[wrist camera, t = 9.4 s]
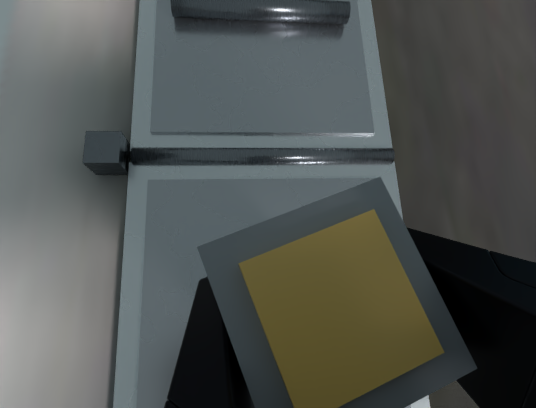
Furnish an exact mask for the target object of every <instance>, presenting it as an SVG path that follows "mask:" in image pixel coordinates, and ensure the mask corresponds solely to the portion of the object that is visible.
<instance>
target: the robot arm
mask: <svg viewBox="0 0 536 408" xmlns="http://www.w3.org/2000/svg"><path fill="white" fill-rule="evenodd" d="M406 228H407V227H406ZM407 230H408V232H409V234H410V236H411V238H412V240H413V242H414V244H415V246H416V248H417V250H418V252H419V254H420V256H421V258H422V260H423V262H424V264H425V265H426V267H427V269H428V271H429V273H430V275H431V277H432V279H433V281H434V283H435V285H436V287H437V289H438V291H439V293H440V295H441V297H442V299H443V301H444V303H445V305H446V307H447V309H448V311H449V313H450V315H451V317H452V319H453V321H454V323H455V325H456V327H457V329H458V331H459V333H460V335H461V337H462V339H463V341H464V343H465V345H466V347H467V348H468V350H469V352H470V354H471V356H472V358H473V360H474V362H475V364H476V366H477V369H476V370H474V371H472V372H470V373H468V374H466V375H464V376H463V377H461V378H459V379H457V380H456V381H457V382H458V383H459V384H460V385H461V387H462V388H463V389H464V390H465V391H466V393H467V394H468V395H469V396H470V397H471V398H472V400H473V401H474V402H475V403H476V404H477V405H478V407H479V408H536V263H535V262H531V261H527V260H523V259H519V258H516V257H512V256H508V255H504V254H501V253H497V252H493V251H490V252H489V251H488V250H486V249H482V248H479V247H475V246H471V245H468V244H464V243H461V242H457V241H453V240H450V239H446V238H443V237H439V236H435V235H432V234H428V233H425V232H421V231H417V230H414V229H410V228H407ZM164 408H255V406H254V404H253V401H252V398H251V395H250V393H249V390H248V387H247V384H246V381H245V379H244V376H243V373H242V370H241V368H240V365H239V362H238V359H237V357H236V354H235V351H234V348H233V346H232V343H231V340H230V337H229V335H228V332H227V329H226V326H225V323H224V321H223V318H222V315H221V312H220V310H219V307H218V304H217V301H216V299H215V296H214V293H213V290H212V288H211V285H210V282H209V279H208V277H205V278H202V279H200V280H199V282H198V286H197V289H196V293H195V297H194V300H193V304H192V308H191V311H190V315H189V318H188V322H187V326H186V329H185V333H184V337H183V340H182V344H181V348H180V351H179V355H178V358H177V362H176V366H175V369H174V373H173V377H172V380H171V384H170V388H169V391H168V395H167V401H166V402H165V405H164Z"/></svg>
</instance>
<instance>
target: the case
mask: <svg viewBox="0 0 536 408" xmlns="http://www.w3.org/2000/svg"><path fill="white" fill-rule="evenodd" d="M130 152H131V162H130ZM393 161H394V150H393V149H392V142H391V135H390V128H389V121H388V114H387V108H386V101H385V94H384V87H383V80H382V73H381V66H380V59H379V53H378V46H377V39H376V32H375V25H374V18H373V11H372V4H371V0H140V4H139V19H138V34H137V49H136V65H135V80H134V95H133V111H132V126H131V141H130V144H129V142H128V141H127V139H126V138H125V136H124V135H123V133H122V132H121V131H86V135H85V145H84V155H83V163H84V164H85V165H86V166H87V167H88V168H89V169H90V170H91V171H93V172H94V173H95V174H96V175H107V174H128V187H127V202H126V218H125V233H124V248H123V263H122V279H121V294H120V309H119V325H118V340H117V355H116V371H115V386H114V401H113V408H164V405H165V402H166V401H167V395H168V391H169V388H170V384H171V380H172V377H173V373H174V369H175V366H176V362H177V358H178V355H179V351H180V348H181V344H182V340H183V337H184V333H185V329H186V326H187V322H188V318H189V315H190V311H191V308H192V304H193V300H194V297H195V293H196V289H197V286H198V282H199V280H200V279H202V278H205V277H207V274H206V271H205V268H204V265H203V263H202V260H201V257H200V254H199V252H198V249H197V247H198V246H200V245H203V244H206V243H208V242H211V241H214V240H216V239H219V238H221V237H224V236H227V235H229V234H232V233H234V232H237V231H240V230H242V229H245V228H247V227H250V226H253V225H255V224H258V223H261V222H263V221H266V220H268V219H271V218H274V217H276V216H279V215H281V214H284V213H287V212H289V211H292V210H294V209H297V208H300V207H302V206H305V205H308V204H310V203H313V202H315V201H318V200H321V199H323V198H326V197H328V196H331V195H334V194H336V193H339V192H342V191H344V190H347V189H349V188H352V187H355V186H357V185H360V184H362V183H365V182H368V181H370V180H373V179H375V178H378V177H381V179H382V181H383V182H384V184H385V186H386V188H387V190H388V192H389V194H390V196H391V198H392V200H393V202H394V204H395V206H396V208H397V210H398V212H399V214H400V216H401V218H402V220H403V217H402V211H401V204H400V197H399V190H398V183H397V176H396V169H395V162H393ZM405 408H430V403H429V396H428V395H427V396H425V397H424V398H422V399H420V400H418V401H416V402H414V403H412V404H411V405H409V406H407V407H405Z"/></svg>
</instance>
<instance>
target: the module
mask: <svg viewBox="0 0 536 408" xmlns="http://www.w3.org/2000/svg"><path fill="white" fill-rule="evenodd" d="M197 249H198V252H199V254H200V257H201V260H202V263H203V265H204V268H205V271H206V274H207V277H208V279H209V282H210V285H211V288H212V290H213V293H214V296H215V299H216V301H217V304H218V307H219V310H220V312H221V315H222V318H223V321H224V323H225V326H226V329H227V332H228V335H229V337H230V340H231V343H232V346H233V348H234V351H235V354H236V357H237V359H238V362H239V365H240V368H241V370H242V373H243V376H244V379H245V381H246V384H247V387H248V390H249V393H250V395H251V398H252V401H253V404H254V406H255V408H405V407H407V406H409V405H411V404H412V403H414V402H416V401H418V400H420V399H422V398H424V397H425V396H427V395H429V394H431V393H433V392H435V391H437V390H438V389H440V388H442V387H444V386H446V385H448V384H450V383H451V382H453V381H455V380H457V379H459V378H461V377H463V376H464V375H466V374H468V373H470V372H472V371H474V370H476V369H477V366H476V364H475V362H474V360H473V358H472V356H471V354H470V352H469V350H468V348H467V347H466V345H465V343H464V341H463V339H462V337H461V335H460V333H459V331H458V329H457V327H456V325H455V323H454V321H453V319H452V317H451V315H450V313H449V311H448V309H447V307H446V305H445V303H444V301H443V299H442V297H441V295H440V293H439V291H438V289H437V287H436V285H435V283H434V281H433V279H432V277H431V275H430V273H429V271H428V269H427V267H426V265H425V264H424V262H423V260H422V258H421V256H420V254H419V252H418V250H417V248H416V246H415V244H414V242H413V240H412V238H411V236H410V234H409V232H408V230H407V228H406V226H405V224H404V222H403V220H402V218H401V216H400V214H399V212H398V210H397V208H396V206H395V204H394V202H393V200H392V198H391V196H390V194H389V192H388V190H387V188H386V186H385V184H384V182H383V181H382V179H381V177H378V178H375V179H373V180H370V181H368V182H365V183H362V184H360V185H357V186H355V187H352V188H349V189H347V190H344V191H342V192H339V193H336V194H334V195H331V196H328V197H326V198H323V199H321V200H318V201H315V202H313V203H310V204H308V205H305V206H302V207H300V208H297V209H294V210H292V211H289V212H287V213H284V214H281V215H279V216H276V217H274V218H271V219H268V220H266V221H263V222H261V223H258V224H255V225H253V226H250V227H247V228H245V229H242V230H240V231H237V232H234V233H232V234H229V235H227V236H224V237H221V238H219V239H216V240H214V241H211V242H208V243H206V244H203V245H200V246H198V247H197Z"/></svg>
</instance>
